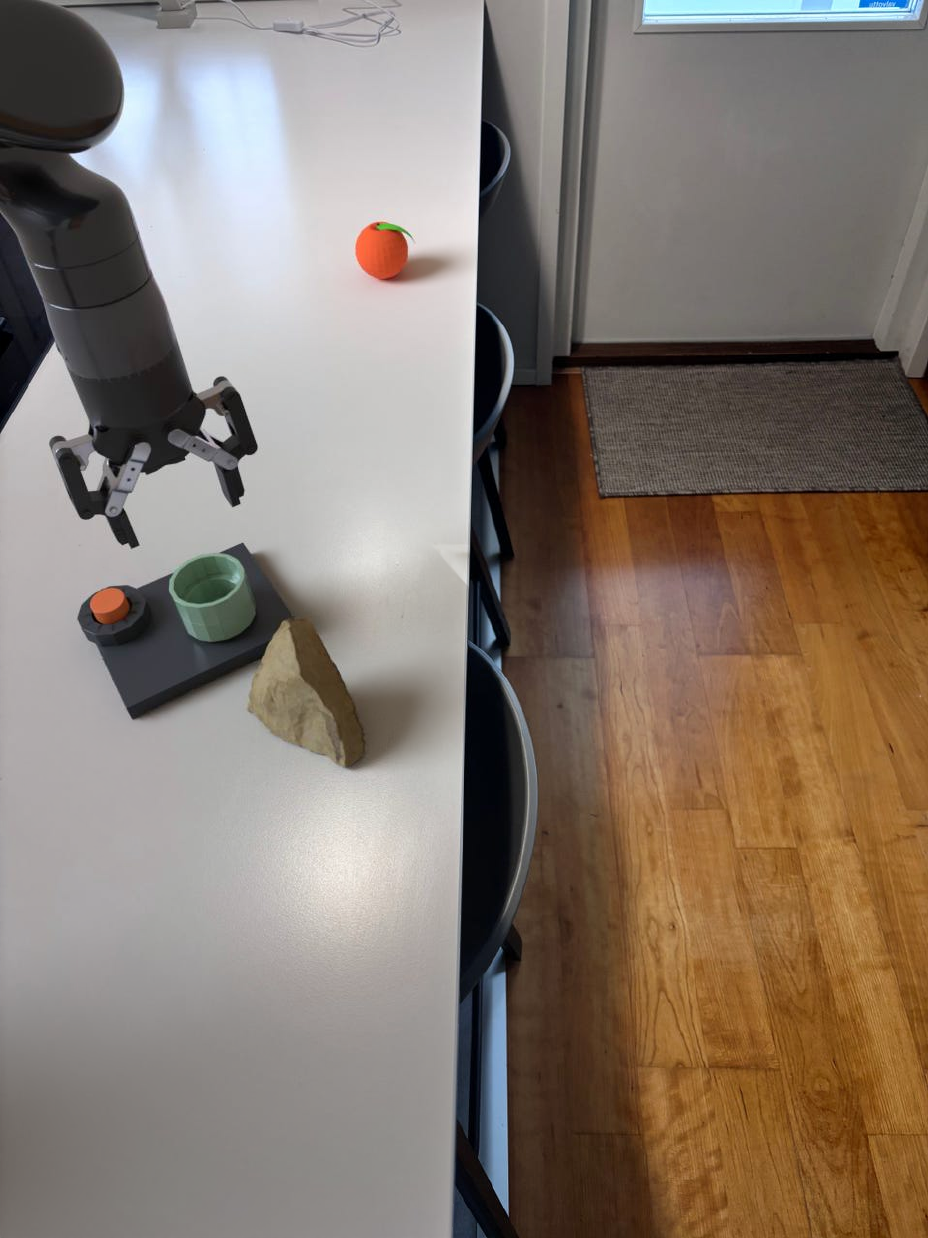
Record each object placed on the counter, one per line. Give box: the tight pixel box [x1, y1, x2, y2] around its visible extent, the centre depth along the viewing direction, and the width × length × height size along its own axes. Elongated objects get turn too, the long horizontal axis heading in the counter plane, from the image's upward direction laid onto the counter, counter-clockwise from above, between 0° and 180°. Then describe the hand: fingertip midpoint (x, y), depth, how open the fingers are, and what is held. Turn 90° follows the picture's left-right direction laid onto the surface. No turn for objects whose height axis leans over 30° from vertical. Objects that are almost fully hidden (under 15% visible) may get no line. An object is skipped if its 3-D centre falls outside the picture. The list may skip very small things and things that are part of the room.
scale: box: [76, 542, 295, 720], centre depth 85 cm, size 16×13×3 cm
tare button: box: [90, 588, 130, 624], centre depth 84 cm, size 3×3×2 cm
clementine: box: [354, 221, 416, 280], centre depth 124 cm, size 8×7×7 cm
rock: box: [246, 617, 367, 769], centre depth 76 cm, size 11×9×10 cm
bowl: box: [169, 552, 256, 642], centre depth 83 cm, size 6×6×5 cm
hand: (183, 520), depth 76 cm, fingers open, 8 cm apart
